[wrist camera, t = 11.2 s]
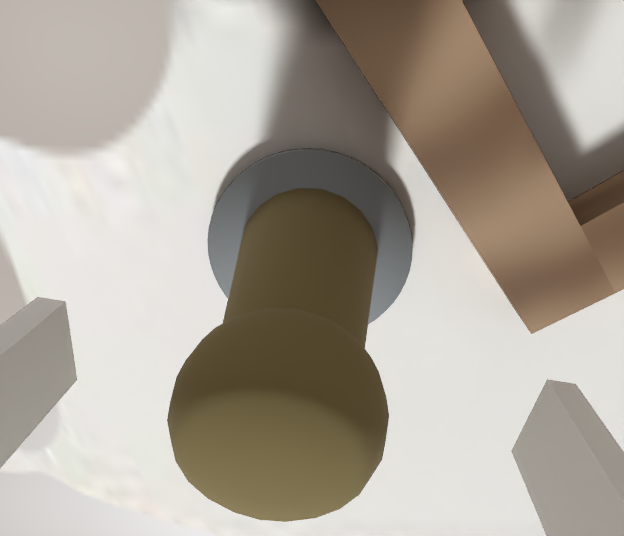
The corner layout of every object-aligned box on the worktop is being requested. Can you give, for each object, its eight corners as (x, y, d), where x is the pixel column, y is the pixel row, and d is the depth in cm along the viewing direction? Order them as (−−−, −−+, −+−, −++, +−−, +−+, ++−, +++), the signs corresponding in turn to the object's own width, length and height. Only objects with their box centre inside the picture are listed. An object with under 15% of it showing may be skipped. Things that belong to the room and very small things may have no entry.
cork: (213, 250, 19) (67, 462, 9) (310, 156, 17) (261, 298, 7) (307, 334, 20) (273, 590, 11) (406, 259, 18) (479, 492, 8)
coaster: (448, 270, 19) (451, 277, 18) (293, 359, 22) (292, 367, 21) (331, 100, 16) (330, 102, 16) (171, 228, 19) (166, 233, 19)
